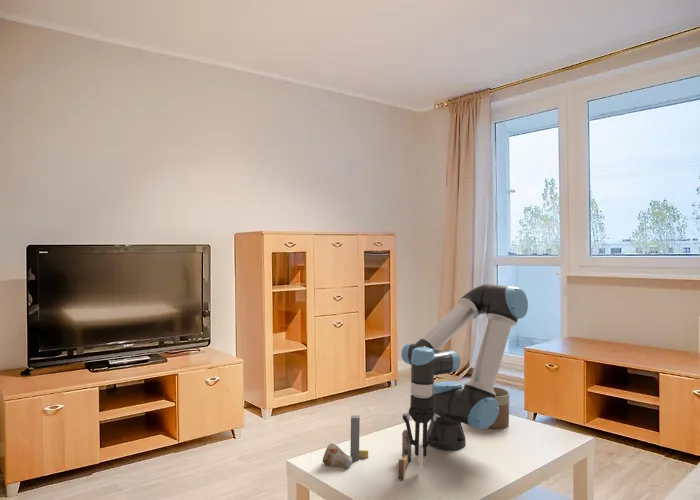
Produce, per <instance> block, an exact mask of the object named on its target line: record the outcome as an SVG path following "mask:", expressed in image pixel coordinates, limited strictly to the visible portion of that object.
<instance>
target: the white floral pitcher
mask: <svg viewBox="0 0 700 500" xmlns="http://www.w3.org/2000/svg"><path fill="white" fill-rule="evenodd" d="M322 463H323V464H325V465H326V466H329V467H335V466H336V467H342V468H346V469H347V468H350V467H351V466H352V463H353V460H352V458H351V456H350V455H348V454H346V453H345V451H343V450H342V449H341V448H340V447H339V446H337V444H335V443H329V444H328V445H327V447H326V448H325V451H324V453H323V457H322Z"/></svg>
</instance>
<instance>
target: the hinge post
mask: <svg viewBox="0 0 700 500" xmlns="http://www.w3.org/2000/svg"><path fill="white" fill-rule="evenodd" d="M401 436H402V439H401V440H402V441H401V442H402V443H401V448H402V449H401V452H402V453H401V458H402V457H403V454H408V464H409V463H412V445H411V444H410V441H409V436H408V432H407V429H404V430H403V431H402V434H401Z"/></svg>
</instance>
